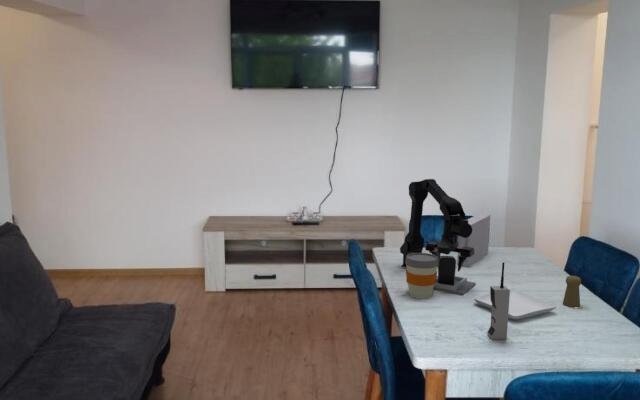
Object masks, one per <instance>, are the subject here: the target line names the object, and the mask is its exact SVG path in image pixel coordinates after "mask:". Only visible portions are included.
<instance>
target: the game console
mask: <svg viewBox="0 0 640 400" xmlns="http://www.w3.org/2000/svg"><path fill="white" fill-rule="evenodd" d="M467 220H468V224H470V225H471V227H472V233H471V235H470V236H469V237H467V238H463V237H461V236H458V240H457V244H458V246H457V248H463V247H464V246H466V247H472V248H473V249H474V255H472V256H471V257H467V258H466V259H465V261H464V263H463V265H462V267H465V268H470V267H471V266H472V265H473V264H475V263H477V262H479V261H480V260H482V259H483V258H485V257H486V256H487V255H488V252H489V242H490V241H489V240H490V229H491V228H490V227H491V226H490V225H491V214H487V213H486V214H485V213H478V214H475V215H474V216H472V217H470V218H468V219H467ZM459 256H460V253H457V260H456V266H458V263H459Z"/></svg>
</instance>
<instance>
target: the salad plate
mask: <svg viewBox="0 0 640 400" xmlns="http://www.w3.org/2000/svg"><path fill="white" fill-rule="evenodd" d="M508 289H509V290H510V297H509V312H508V319H512V320H520V319H524V318H528V317H529V318H530V317H533V316H537V315H540V314H544V313H548V312H550V311H551V312H552V311H553V310H555V309H556V308H557V305H556V304H553V303H551V302H549V301H547V300H544V299H541V298H539V297H538V296H537V297H536V296H534V295H532V294H529V293H526V292H523V291H522V290H518V289H516V288H508ZM472 298H473V300H474V301H475V303H477V304H479V305H481V306H482V307H486V308H487V309H490V310H491V311H492V302H491V296H490V293H486V294H482V295H477V296H474V297H472Z"/></svg>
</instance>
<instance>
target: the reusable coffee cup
mask: <svg viewBox="0 0 640 400" xmlns="http://www.w3.org/2000/svg"><path fill="white" fill-rule="evenodd" d="M405 264H406V267H407V268H406V267H405V268H406V269H405V274H406V277H405V278H406V283H407V285H408V287H407V288H408V294H409V296H411V297H413V296H414V298H418V297H420V298H419V299H428V298H431V297H432V296H433V293H434V292H433V291H434V290H433V287H434V284H435V282H436V276H438V267H437V266H438V257H437V256H435V255H432V253H429V252H428V253H426V252H422V253H411V254H408V255H407V256H406V262H405Z"/></svg>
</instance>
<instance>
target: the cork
mask: <svg viewBox="0 0 640 400" xmlns="http://www.w3.org/2000/svg"><path fill="white" fill-rule="evenodd" d="M565 284H566V289H565V292H564V296H563V299H562V300H563V301H562V305H563V306H565V307H566V306H567V308H571V307H572V308H571V309H573V308H574V307H578V308H580V307H581V297H580V286H581V284H582V279H581V277H580V276H577V275H568V276H567V277H566V278H565ZM574 309H575V308H574Z"/></svg>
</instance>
